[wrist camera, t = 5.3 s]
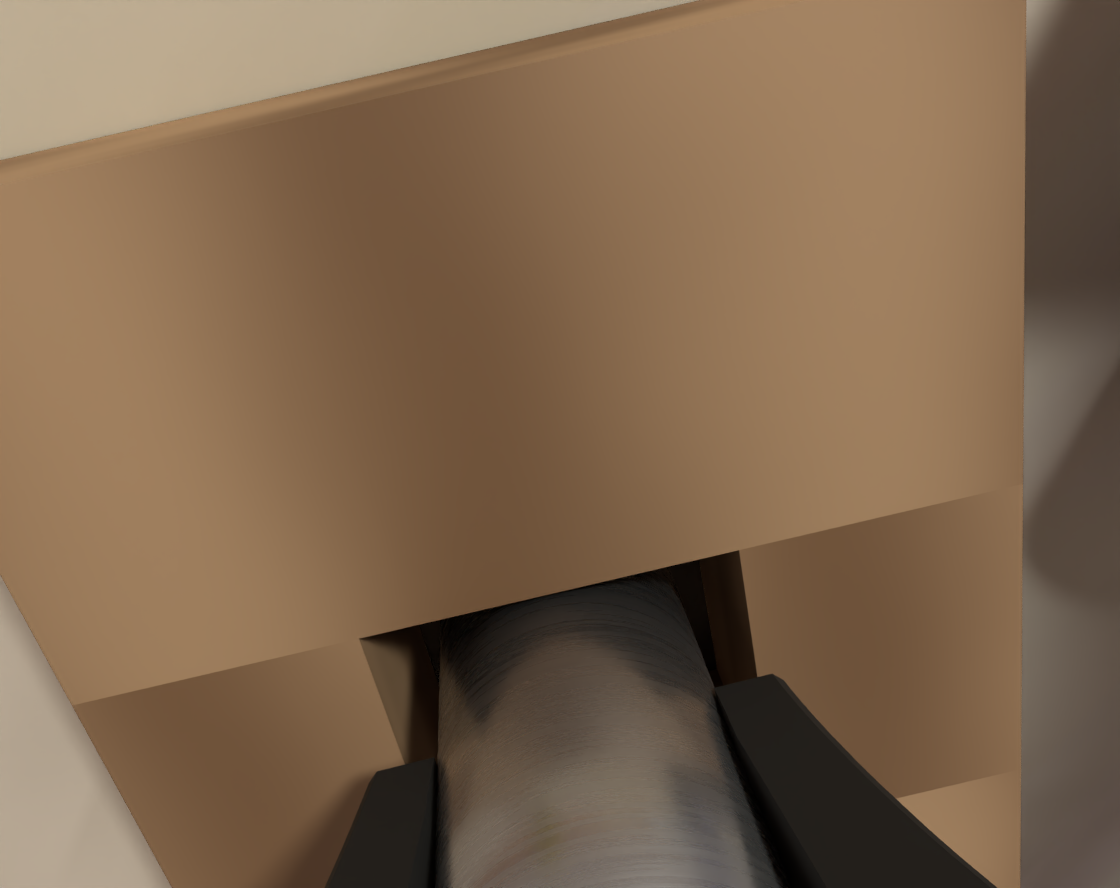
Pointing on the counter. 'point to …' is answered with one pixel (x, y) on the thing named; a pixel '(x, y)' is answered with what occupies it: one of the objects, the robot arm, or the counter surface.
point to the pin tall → (590, 749)
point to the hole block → (530, 402)
